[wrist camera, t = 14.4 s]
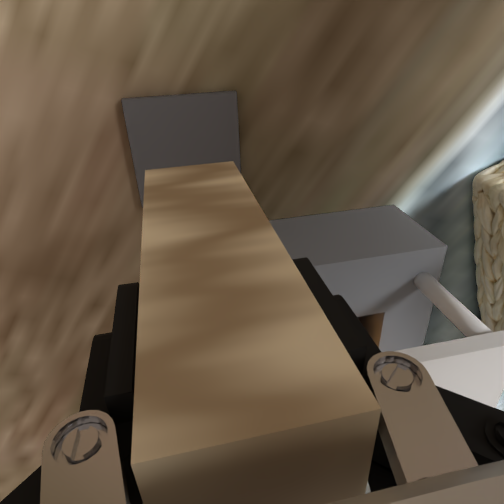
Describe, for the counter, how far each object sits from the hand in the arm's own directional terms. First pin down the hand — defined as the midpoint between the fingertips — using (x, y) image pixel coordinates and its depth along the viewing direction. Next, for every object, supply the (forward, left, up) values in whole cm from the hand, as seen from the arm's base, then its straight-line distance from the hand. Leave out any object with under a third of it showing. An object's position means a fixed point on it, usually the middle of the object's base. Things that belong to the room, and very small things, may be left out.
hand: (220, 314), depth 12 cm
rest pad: (0, 0, -17) cm, 17 cm away
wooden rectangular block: (0, 0, -8) cm, 8 cm away
